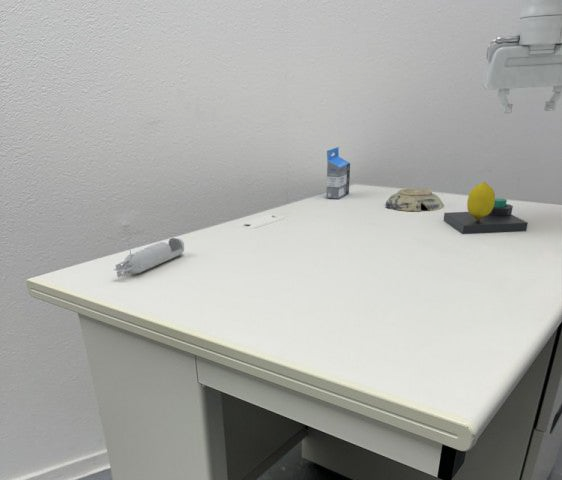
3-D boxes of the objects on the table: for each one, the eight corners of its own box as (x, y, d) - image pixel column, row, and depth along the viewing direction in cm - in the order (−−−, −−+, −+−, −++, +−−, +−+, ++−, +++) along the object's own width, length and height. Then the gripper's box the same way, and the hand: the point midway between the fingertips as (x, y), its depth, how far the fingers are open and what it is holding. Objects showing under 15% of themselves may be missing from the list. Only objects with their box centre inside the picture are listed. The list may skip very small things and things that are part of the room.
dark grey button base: (502, 217, 128) (505, 202, 126) (528, 231, 117) (531, 214, 115) (442, 220, 127) (444, 205, 125) (462, 234, 116) (464, 217, 114)
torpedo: (171, 251, 109) (167, 219, 106) (191, 254, 108) (187, 221, 104) (108, 279, 96) (101, 242, 92) (129, 283, 94) (122, 245, 91)
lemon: (497, 221, 117) (503, 183, 113) (475, 224, 115) (481, 185, 111) (480, 216, 121) (486, 178, 117) (459, 219, 120) (464, 181, 116)
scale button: (502, 205, 125) (503, 197, 124) (507, 208, 122) (509, 200, 121) (489, 206, 125) (490, 198, 124) (494, 209, 122) (496, 201, 121)
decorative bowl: (417, 197, 150) (372, 203, 144) (419, 183, 148) (373, 188, 142) (455, 208, 138) (408, 215, 132) (458, 193, 136) (410, 199, 130)
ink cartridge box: (339, 199, 150) (340, 151, 144) (325, 198, 151) (326, 150, 145) (349, 193, 157) (351, 147, 151) (336, 192, 158) (338, 146, 152)
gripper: (495, 36, 104) (485, 115, 111) (598, 31, 106) (582, 110, 112) (482, 38, 110) (473, 113, 117) (580, 33, 111) (565, 108, 118)
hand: (527, 112), depth 115 cm, fingers open, 8 cm apart
